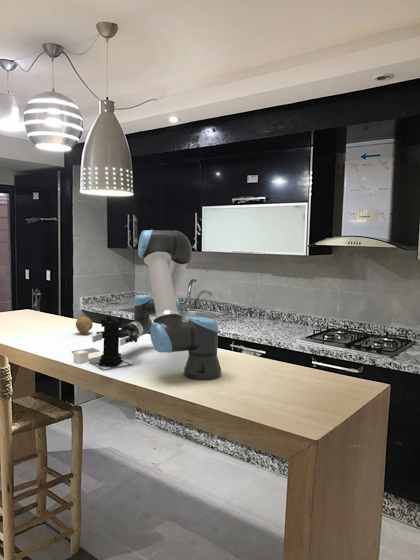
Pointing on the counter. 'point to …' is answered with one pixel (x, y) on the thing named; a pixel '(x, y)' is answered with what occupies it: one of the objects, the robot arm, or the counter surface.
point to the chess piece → (111, 342)
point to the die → (80, 356)
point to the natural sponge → (84, 324)
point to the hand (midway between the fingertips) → (106, 340)
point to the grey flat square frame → (113, 367)
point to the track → (93, 355)
